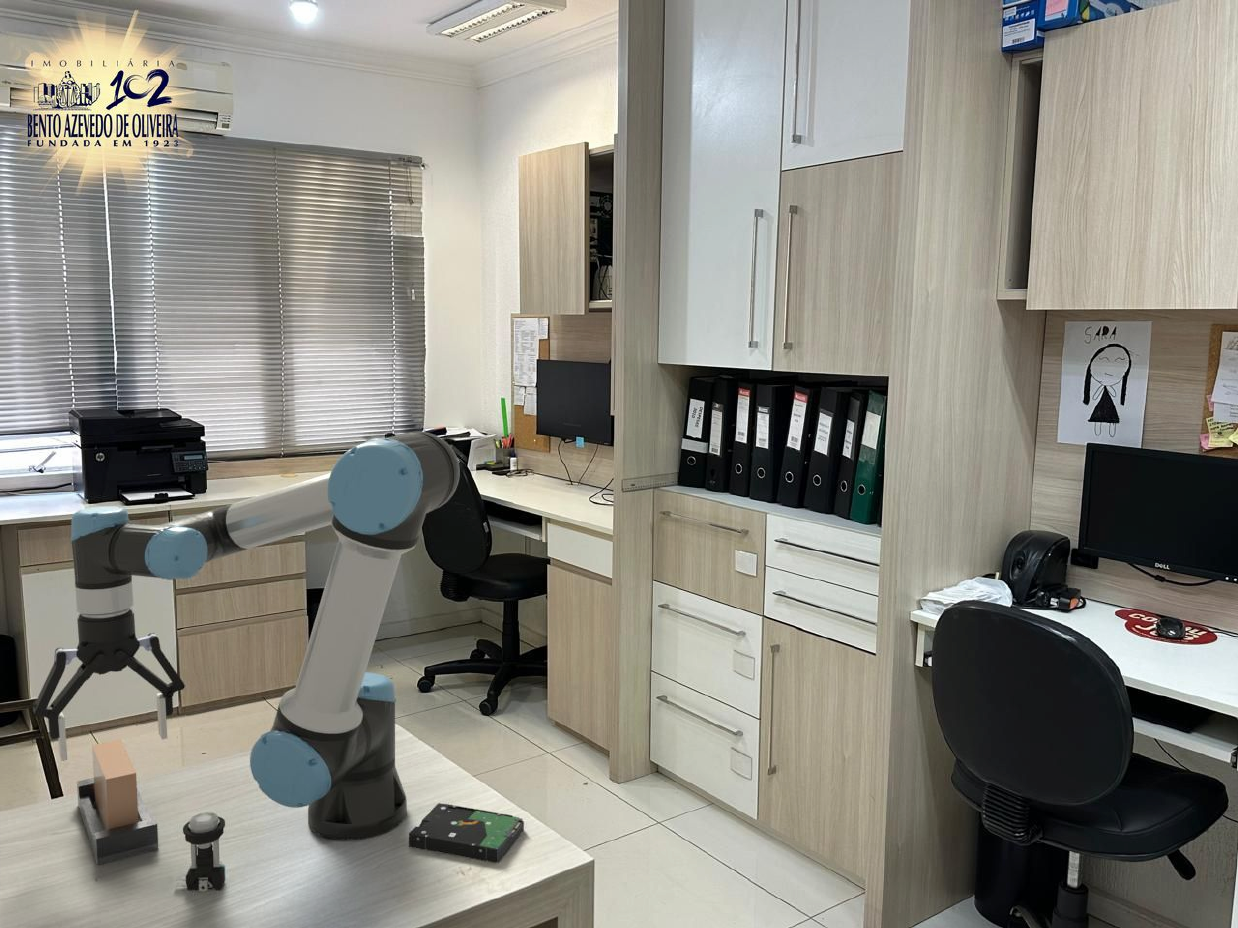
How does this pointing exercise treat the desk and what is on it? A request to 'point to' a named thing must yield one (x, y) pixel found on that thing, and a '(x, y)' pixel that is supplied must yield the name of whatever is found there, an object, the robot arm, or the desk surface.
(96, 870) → the desk surface
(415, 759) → the desk surface
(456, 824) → the disk drive
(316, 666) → the robot arm
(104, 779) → the orange rectangular block
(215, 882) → the push button
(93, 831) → the dark grey tray
